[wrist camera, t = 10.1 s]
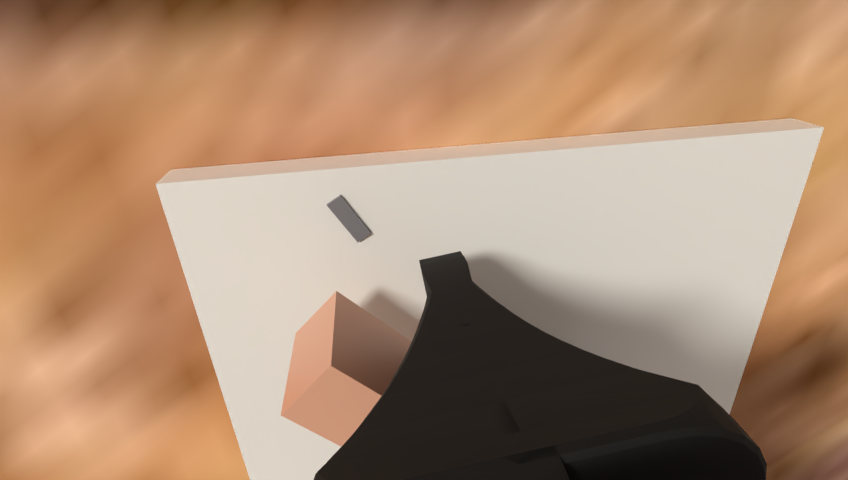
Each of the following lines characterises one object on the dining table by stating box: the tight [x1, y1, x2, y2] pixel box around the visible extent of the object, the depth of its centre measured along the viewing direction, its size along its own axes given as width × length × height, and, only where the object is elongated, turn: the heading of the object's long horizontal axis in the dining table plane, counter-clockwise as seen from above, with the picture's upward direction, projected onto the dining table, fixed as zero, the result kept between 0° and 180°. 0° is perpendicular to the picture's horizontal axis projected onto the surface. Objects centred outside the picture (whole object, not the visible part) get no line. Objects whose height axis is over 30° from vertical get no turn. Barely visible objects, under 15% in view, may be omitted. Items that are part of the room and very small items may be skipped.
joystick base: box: [156, 118, 824, 480], centre depth 15 cm, size 16×16×2 cm
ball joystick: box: [281, 291, 412, 447], centre depth 12 cm, size 10×6×2 cm, turn 47°
